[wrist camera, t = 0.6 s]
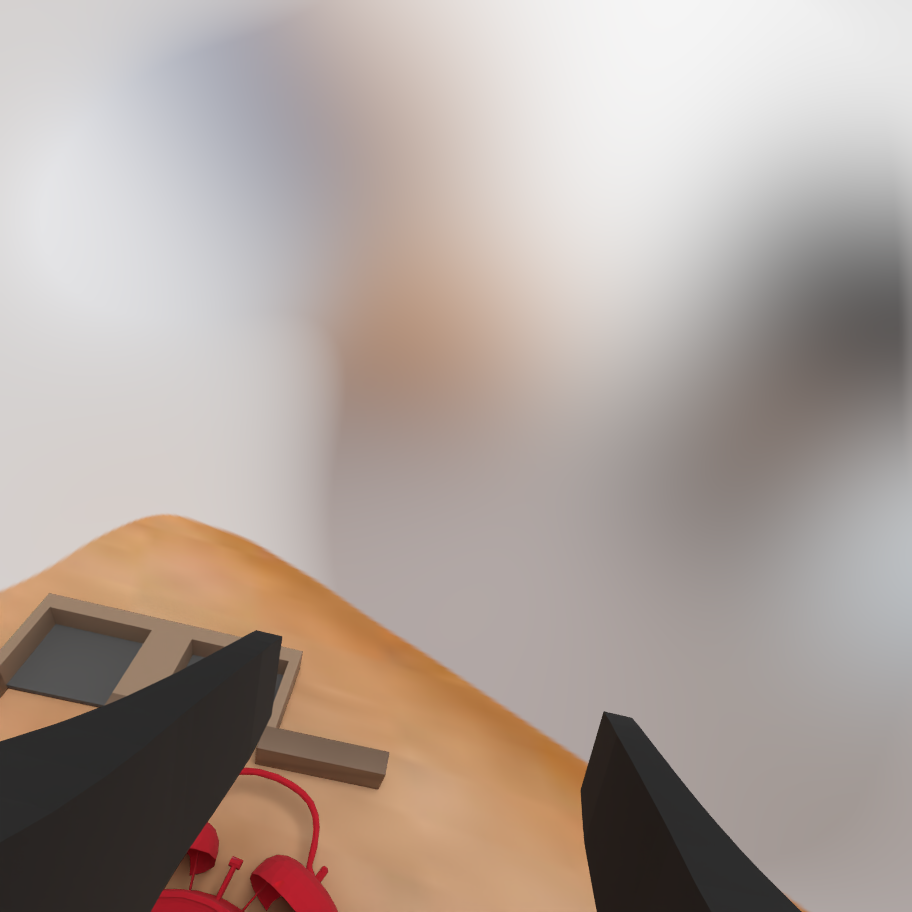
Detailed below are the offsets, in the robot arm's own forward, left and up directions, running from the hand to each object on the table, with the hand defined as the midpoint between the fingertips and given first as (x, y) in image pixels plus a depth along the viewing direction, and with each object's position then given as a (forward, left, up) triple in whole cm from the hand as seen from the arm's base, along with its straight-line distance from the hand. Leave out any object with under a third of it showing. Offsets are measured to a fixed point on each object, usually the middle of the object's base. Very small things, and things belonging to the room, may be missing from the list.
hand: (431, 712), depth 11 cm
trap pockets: (+7, +11, -17) cm, 22 cm away
